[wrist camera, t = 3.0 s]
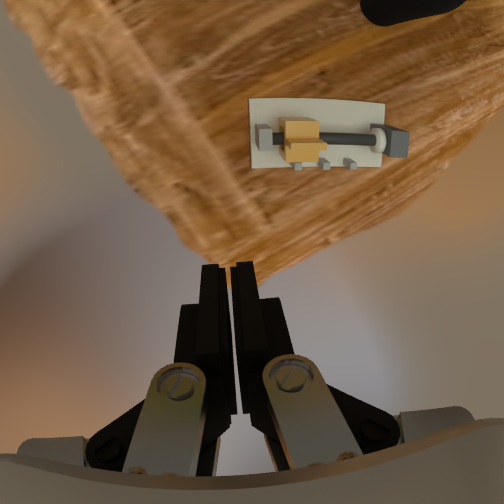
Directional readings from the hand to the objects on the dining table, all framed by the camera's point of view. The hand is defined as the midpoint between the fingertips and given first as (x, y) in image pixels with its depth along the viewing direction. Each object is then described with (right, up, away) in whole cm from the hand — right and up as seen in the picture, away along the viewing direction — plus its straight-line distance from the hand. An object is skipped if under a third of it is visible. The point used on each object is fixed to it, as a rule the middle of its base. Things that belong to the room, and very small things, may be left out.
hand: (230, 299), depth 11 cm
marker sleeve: (+6, +17, +28) cm, 33 cm away
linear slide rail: (+10, +19, +31) cm, 38 cm away
